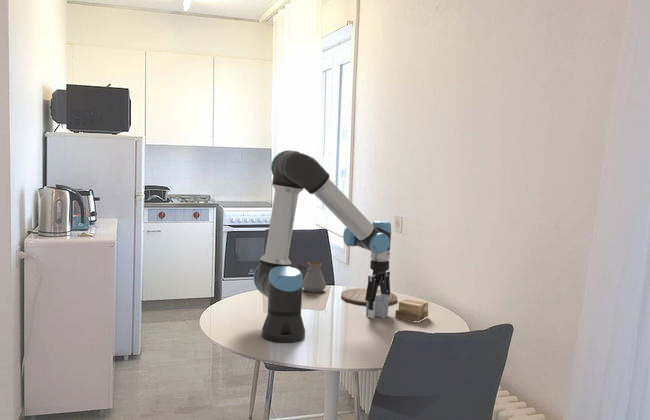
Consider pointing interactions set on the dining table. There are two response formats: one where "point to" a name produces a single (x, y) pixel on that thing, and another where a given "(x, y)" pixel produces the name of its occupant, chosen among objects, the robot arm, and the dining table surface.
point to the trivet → (362, 296)
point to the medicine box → (380, 305)
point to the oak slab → (413, 306)
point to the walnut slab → (410, 315)
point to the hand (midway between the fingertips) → (377, 314)
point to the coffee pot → (313, 278)
